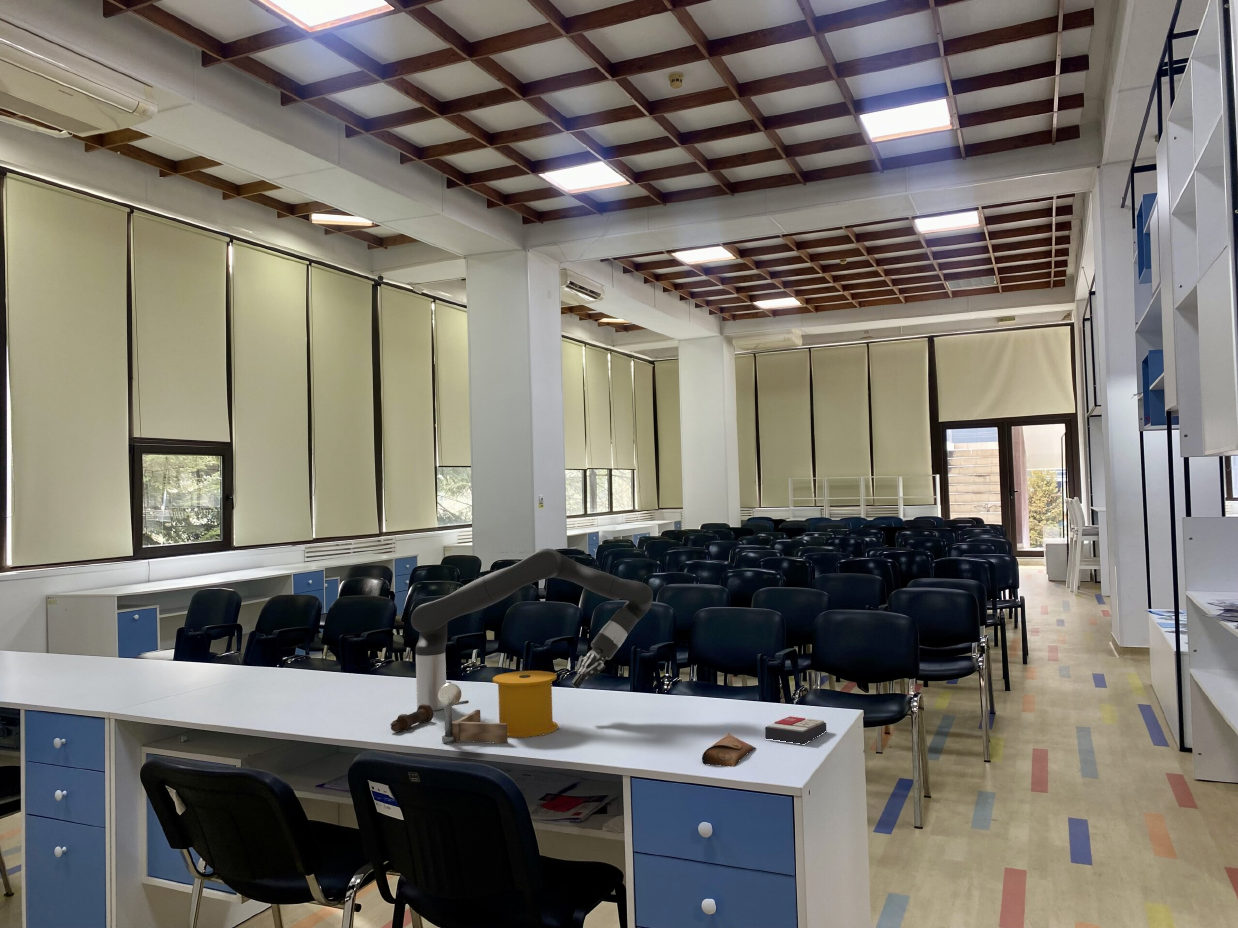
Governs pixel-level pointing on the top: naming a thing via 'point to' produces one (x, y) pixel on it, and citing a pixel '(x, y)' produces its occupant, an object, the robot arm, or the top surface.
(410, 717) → the bolt
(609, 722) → the top surface
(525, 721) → the spool
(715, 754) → the sunglasses case
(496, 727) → the wooden v-shaped bracket
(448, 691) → the metal faucet
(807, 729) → the dark grey box
